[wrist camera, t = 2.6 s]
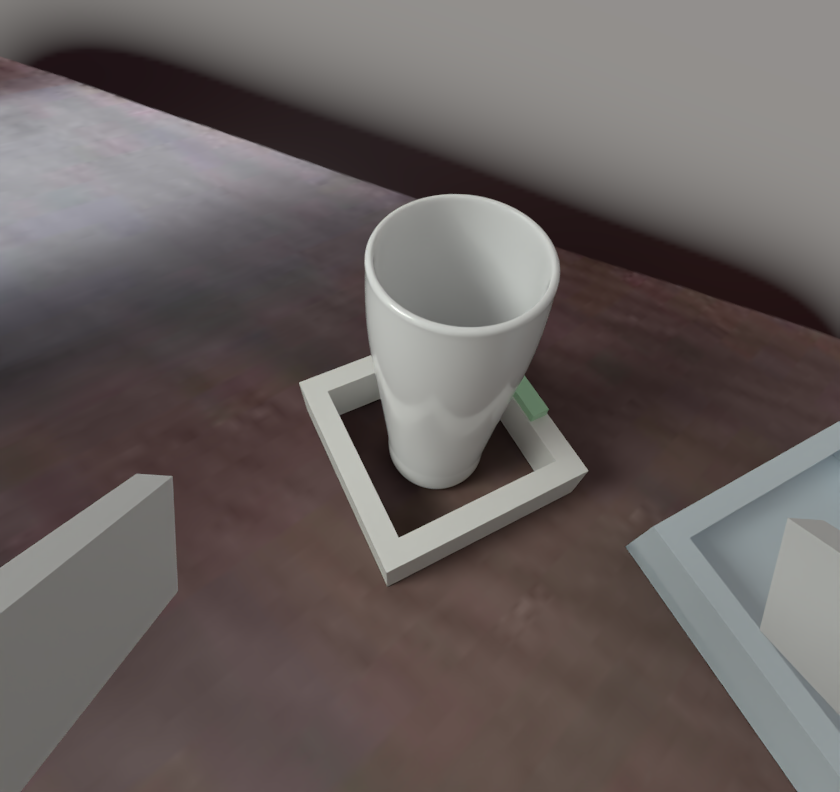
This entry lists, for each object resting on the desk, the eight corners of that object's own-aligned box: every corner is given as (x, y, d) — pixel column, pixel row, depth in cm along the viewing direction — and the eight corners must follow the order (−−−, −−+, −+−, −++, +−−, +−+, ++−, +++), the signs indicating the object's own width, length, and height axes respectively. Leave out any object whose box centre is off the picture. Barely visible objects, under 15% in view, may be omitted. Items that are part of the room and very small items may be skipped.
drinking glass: (461, 527, 28) (517, 369, 15) (354, 470, 29) (321, 282, 16) (510, 429, 31) (591, 231, 18) (411, 382, 32) (421, 168, 20)
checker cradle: (306, 409, 31) (297, 376, 28) (470, 344, 34) (477, 308, 31) (387, 586, 26) (386, 569, 23) (571, 491, 29) (592, 466, 26)
